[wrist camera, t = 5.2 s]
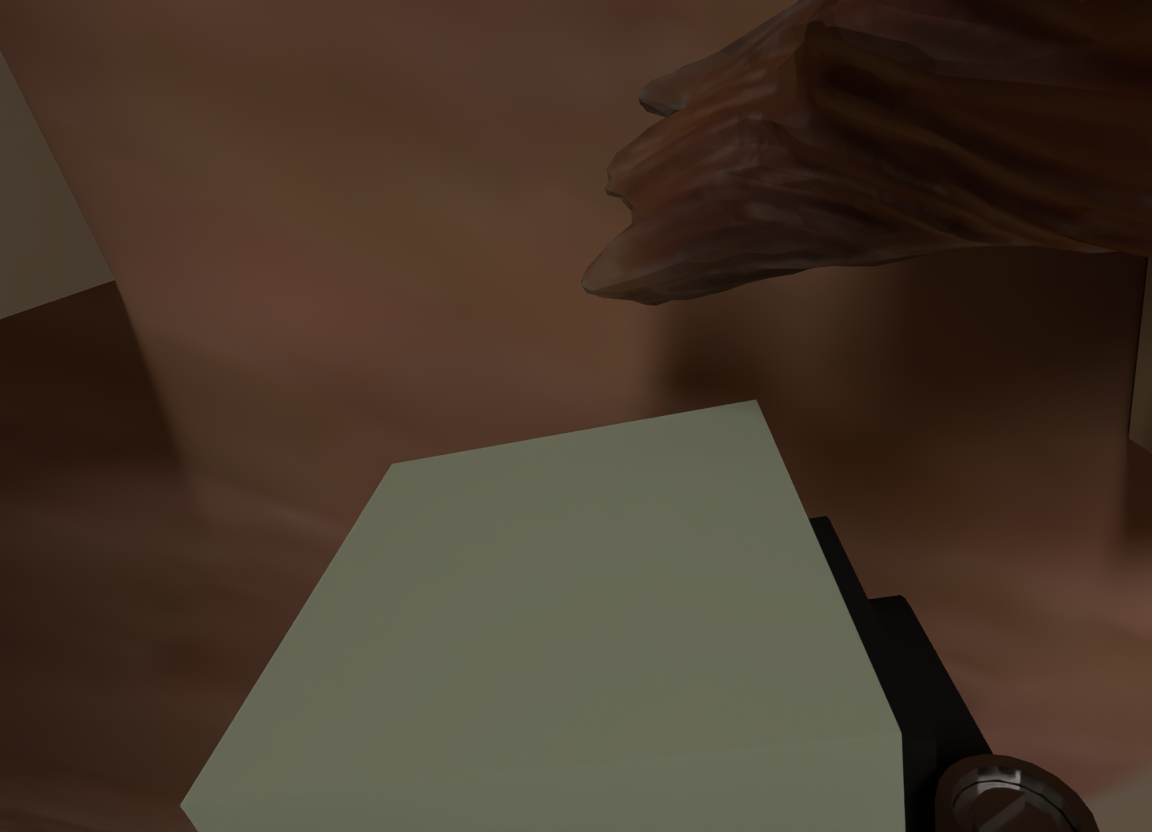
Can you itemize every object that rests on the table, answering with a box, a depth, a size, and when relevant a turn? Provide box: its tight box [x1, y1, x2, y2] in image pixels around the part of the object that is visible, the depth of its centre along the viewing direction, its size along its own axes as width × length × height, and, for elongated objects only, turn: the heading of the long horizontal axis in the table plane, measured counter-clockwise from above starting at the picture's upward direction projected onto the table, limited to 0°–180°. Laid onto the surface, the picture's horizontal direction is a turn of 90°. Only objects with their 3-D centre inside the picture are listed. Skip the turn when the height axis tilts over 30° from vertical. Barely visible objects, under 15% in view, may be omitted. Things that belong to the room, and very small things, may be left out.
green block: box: [180, 400, 905, 832], centre depth 9 cm, size 6×6×6 cm
